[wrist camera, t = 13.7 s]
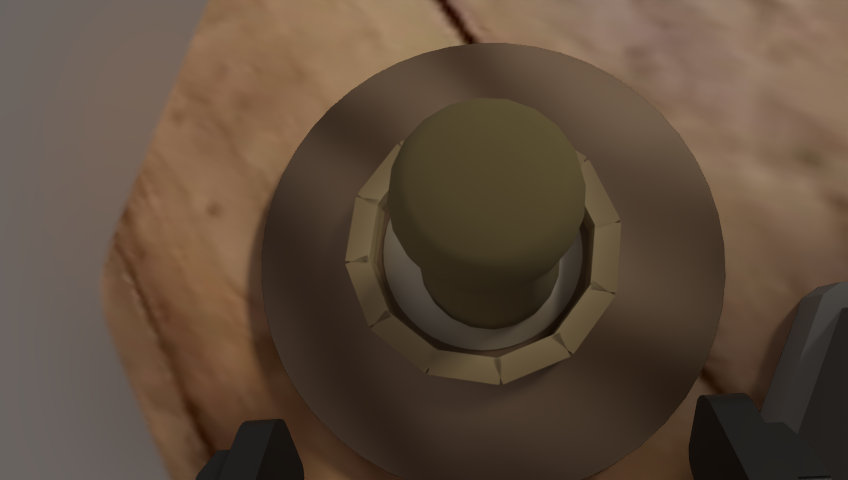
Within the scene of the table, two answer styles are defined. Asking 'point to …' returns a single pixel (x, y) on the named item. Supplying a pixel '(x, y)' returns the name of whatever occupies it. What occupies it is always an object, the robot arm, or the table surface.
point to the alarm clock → (816, 377)
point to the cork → (487, 208)
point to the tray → (510, 346)
